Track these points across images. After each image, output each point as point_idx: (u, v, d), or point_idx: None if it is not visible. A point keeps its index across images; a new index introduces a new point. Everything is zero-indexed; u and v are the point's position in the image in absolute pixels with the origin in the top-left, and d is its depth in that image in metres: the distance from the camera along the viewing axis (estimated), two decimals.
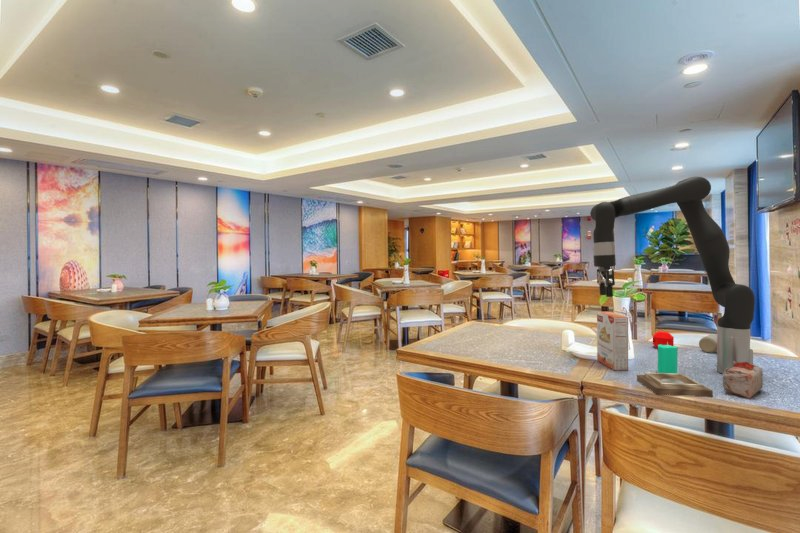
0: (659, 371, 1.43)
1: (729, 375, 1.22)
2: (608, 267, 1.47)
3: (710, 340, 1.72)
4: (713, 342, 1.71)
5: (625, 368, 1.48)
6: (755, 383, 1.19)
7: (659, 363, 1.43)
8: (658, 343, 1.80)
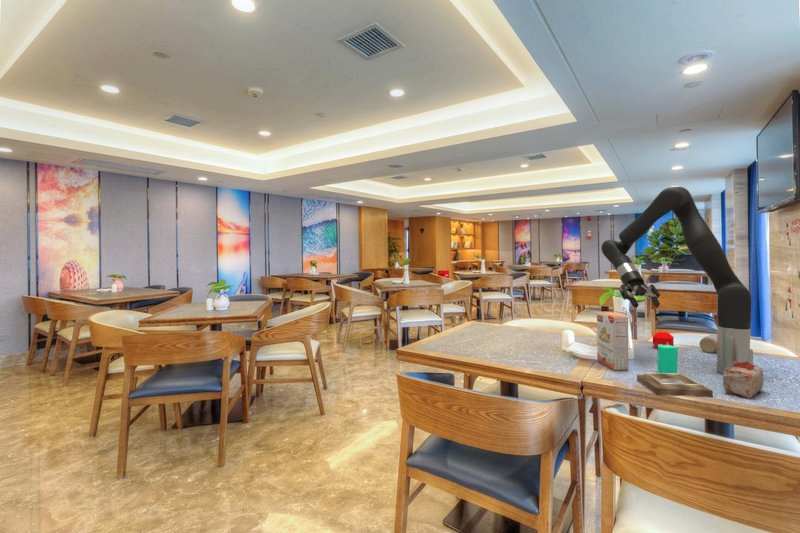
0: (659, 371, 1.43)
1: (729, 375, 1.22)
2: (626, 284, 1.61)
3: (711, 340, 1.71)
4: (714, 342, 1.71)
5: (625, 368, 1.48)
6: (755, 383, 1.19)
7: (659, 363, 1.43)
8: (658, 343, 1.80)
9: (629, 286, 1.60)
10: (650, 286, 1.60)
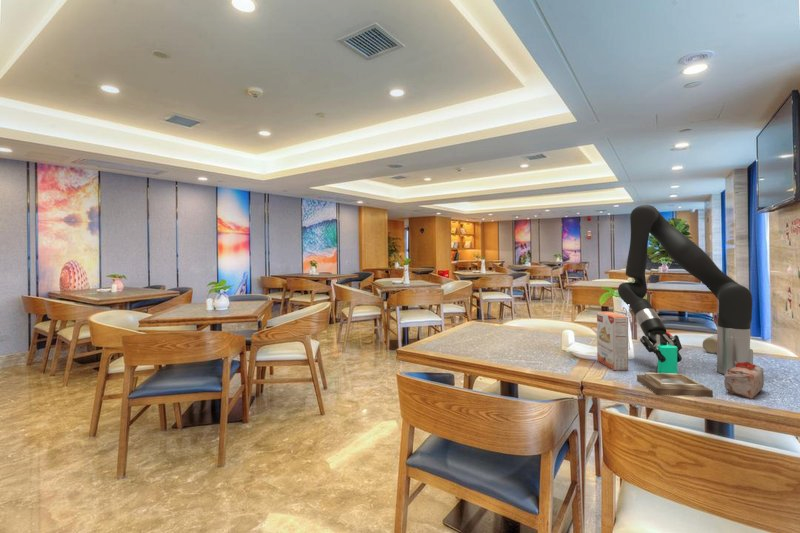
0: (659, 371, 1.43)
1: (731, 375, 1.21)
2: (647, 333, 1.49)
3: (714, 341, 1.70)
4: None
5: (625, 368, 1.48)
6: (757, 383, 1.19)
7: (659, 363, 1.43)
8: None
9: (650, 336, 1.48)
10: (674, 337, 1.48)
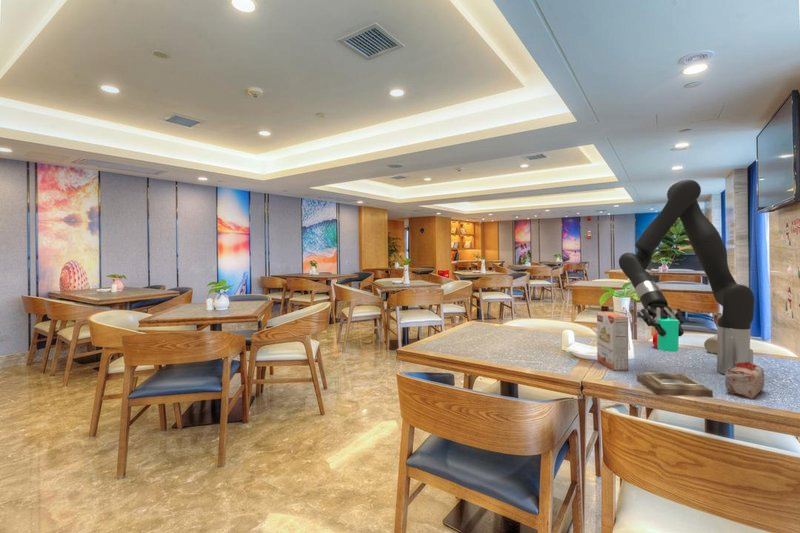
0: (659, 346, 1.33)
1: (732, 375, 1.21)
2: (646, 306, 1.39)
3: (715, 341, 1.70)
4: None
5: (625, 368, 1.48)
6: (758, 383, 1.19)
7: (659, 338, 1.33)
8: None
9: (650, 309, 1.37)
10: (676, 310, 1.37)
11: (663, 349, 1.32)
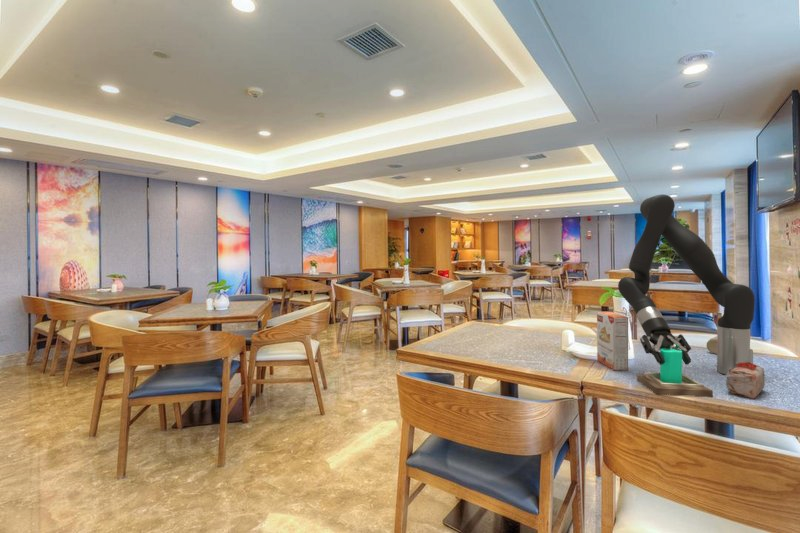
0: (662, 378, 1.29)
1: (733, 376, 1.21)
2: (649, 334, 1.34)
3: None
4: None
5: (625, 368, 1.48)
6: (759, 383, 1.19)
7: (662, 369, 1.29)
8: None
9: (653, 337, 1.33)
10: (678, 336, 1.33)
11: (666, 381, 1.27)
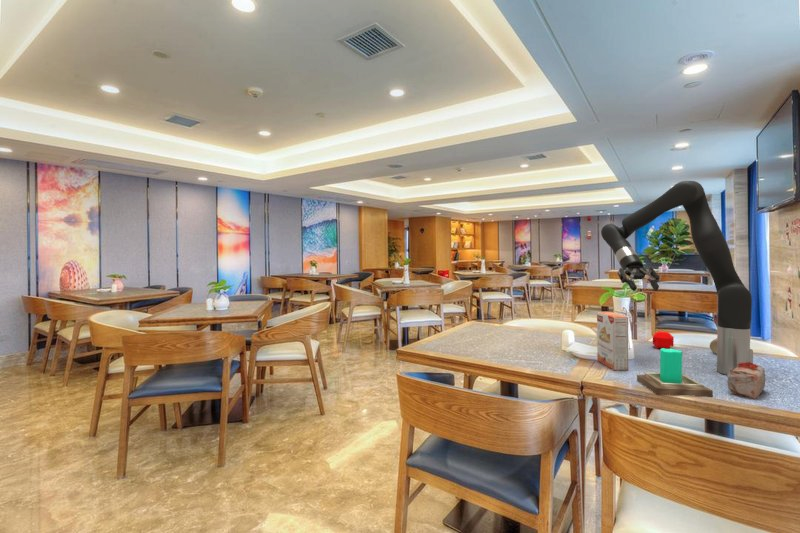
0: (662, 378, 1.29)
1: (734, 376, 1.21)
2: (625, 268, 1.59)
3: None
4: None
5: (625, 368, 1.48)
6: (760, 383, 1.19)
7: (662, 369, 1.29)
8: (658, 343, 1.80)
9: (628, 269, 1.57)
10: (649, 270, 1.58)
11: (666, 381, 1.27)
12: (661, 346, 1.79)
